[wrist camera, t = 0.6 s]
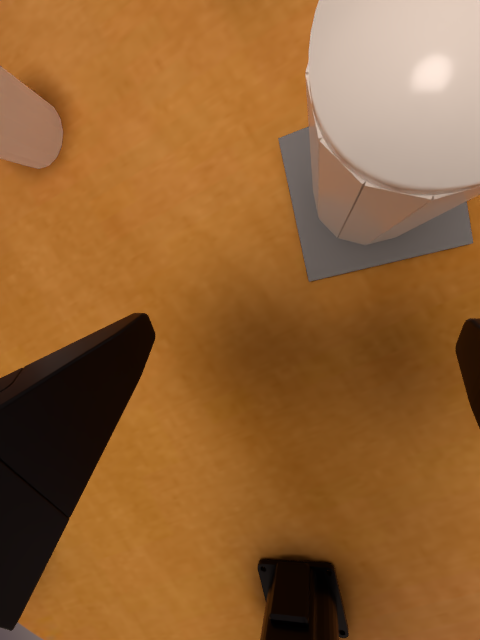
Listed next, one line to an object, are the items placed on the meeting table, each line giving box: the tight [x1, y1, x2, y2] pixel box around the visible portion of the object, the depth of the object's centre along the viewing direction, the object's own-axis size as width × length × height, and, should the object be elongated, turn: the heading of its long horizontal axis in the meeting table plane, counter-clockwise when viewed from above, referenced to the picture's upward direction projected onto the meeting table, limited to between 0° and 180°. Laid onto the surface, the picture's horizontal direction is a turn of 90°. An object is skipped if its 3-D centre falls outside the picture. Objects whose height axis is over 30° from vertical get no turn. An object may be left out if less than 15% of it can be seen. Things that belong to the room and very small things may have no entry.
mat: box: [278, 127, 473, 282], centre depth 19 cm, size 10×10×1 cm
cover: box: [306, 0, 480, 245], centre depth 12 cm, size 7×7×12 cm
